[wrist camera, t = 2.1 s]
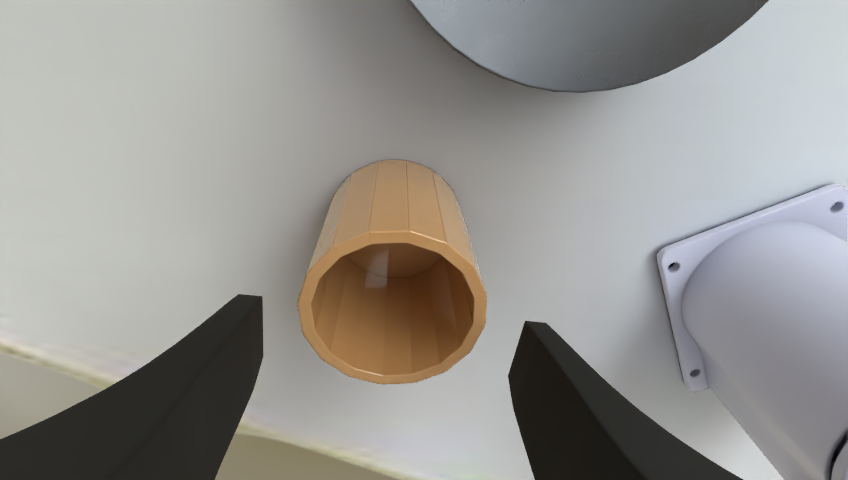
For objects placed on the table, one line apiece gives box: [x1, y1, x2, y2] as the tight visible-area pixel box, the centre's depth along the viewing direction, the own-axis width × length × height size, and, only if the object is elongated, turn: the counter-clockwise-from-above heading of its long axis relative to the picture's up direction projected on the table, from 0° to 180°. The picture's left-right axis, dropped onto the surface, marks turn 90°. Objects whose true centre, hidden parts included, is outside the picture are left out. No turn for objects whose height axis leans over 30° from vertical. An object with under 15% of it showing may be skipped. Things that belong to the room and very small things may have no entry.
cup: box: [297, 160, 487, 384], centre depth 16 cm, size 6×6×6 cm
